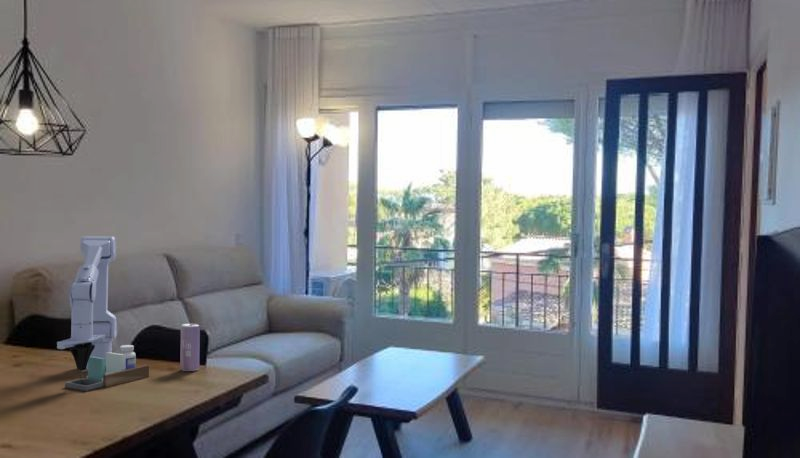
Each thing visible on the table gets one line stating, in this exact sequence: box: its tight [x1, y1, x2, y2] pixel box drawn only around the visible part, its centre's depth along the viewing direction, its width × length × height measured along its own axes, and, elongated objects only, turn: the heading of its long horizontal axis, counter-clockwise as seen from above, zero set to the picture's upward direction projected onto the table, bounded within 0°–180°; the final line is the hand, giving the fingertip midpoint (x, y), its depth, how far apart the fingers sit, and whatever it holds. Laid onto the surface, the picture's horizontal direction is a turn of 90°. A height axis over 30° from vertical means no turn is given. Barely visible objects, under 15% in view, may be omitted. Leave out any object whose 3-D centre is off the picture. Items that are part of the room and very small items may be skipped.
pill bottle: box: [118, 344, 137, 370], centre depth 207 cm, size 5×5×10 cm
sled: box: [86, 352, 126, 382], centre depth 200 cm, size 7×8×8 cm
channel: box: [80, 364, 150, 388], centre depth 203 cm, size 11×16×4 cm
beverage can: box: [179, 323, 201, 372], centre depth 218 cm, size 6×6×15 cm
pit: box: [64, 378, 105, 393], centre depth 194 cm, size 9×6×2 cm, turn 63°
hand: (81, 369), depth 193 cm, fingers closed
